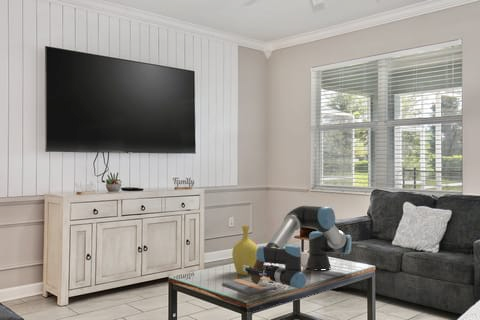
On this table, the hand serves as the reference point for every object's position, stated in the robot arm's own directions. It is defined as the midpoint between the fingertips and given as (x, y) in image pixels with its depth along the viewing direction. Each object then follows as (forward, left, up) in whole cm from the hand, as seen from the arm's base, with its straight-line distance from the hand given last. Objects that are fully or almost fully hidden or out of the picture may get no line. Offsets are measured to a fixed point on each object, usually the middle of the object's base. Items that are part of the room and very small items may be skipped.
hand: (250, 266), depth 240 cm
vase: (-18, -27, -11) cm, 35 cm away
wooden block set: (-1, +6, -6) cm, 8 cm away
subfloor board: (0, -1, -11) cm, 11 cm away
